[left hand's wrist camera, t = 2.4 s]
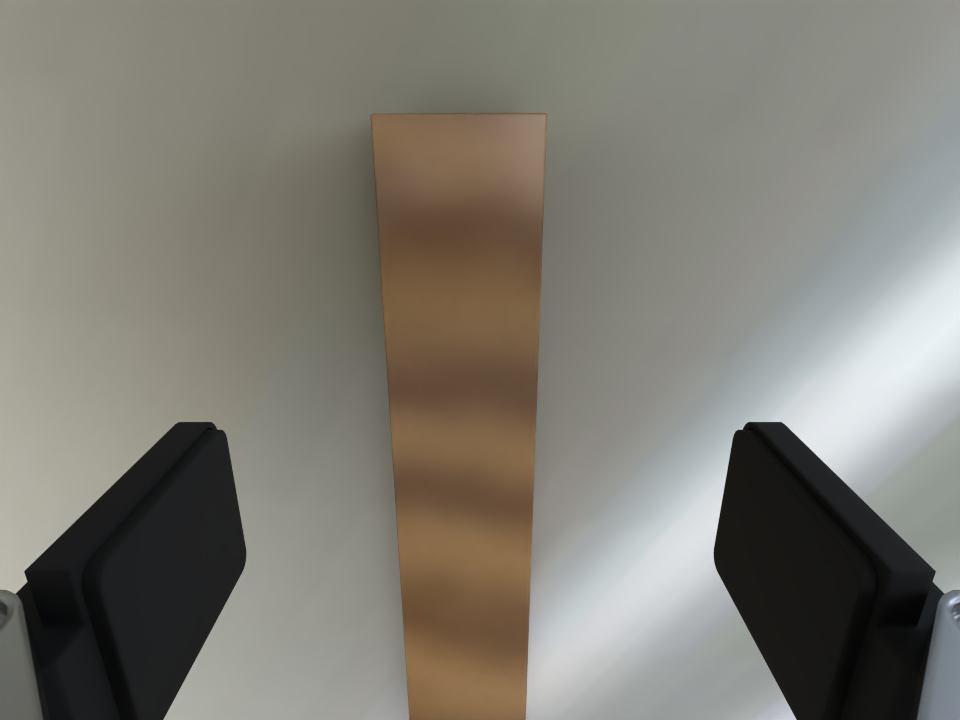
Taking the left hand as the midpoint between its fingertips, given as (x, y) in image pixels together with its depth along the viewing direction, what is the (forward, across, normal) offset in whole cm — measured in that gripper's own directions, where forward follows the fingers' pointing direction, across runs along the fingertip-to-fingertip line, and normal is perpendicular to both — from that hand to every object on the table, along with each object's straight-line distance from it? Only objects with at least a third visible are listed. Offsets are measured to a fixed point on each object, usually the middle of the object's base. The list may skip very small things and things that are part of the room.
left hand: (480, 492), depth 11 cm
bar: (+18, -1, -24) cm, 30 cm away
